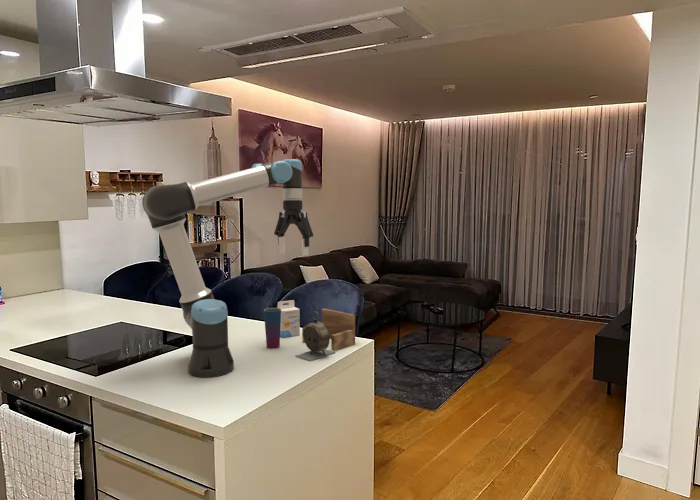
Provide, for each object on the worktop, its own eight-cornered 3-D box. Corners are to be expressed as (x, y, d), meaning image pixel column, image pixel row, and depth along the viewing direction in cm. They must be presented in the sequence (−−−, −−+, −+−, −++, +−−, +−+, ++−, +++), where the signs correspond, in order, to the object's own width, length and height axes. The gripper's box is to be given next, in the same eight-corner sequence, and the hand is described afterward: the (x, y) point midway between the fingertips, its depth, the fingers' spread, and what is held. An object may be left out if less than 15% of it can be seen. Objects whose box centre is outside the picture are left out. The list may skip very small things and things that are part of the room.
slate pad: (310, 361, 176) (310, 360, 176) (295, 356, 182) (295, 355, 181) (335, 353, 186) (335, 352, 186) (320, 348, 191) (320, 347, 191)
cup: (285, 346, 195) (284, 309, 193) (273, 350, 189) (272, 312, 188) (272, 343, 199) (272, 307, 197) (260, 347, 193) (260, 310, 192)
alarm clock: (330, 355, 181) (330, 312, 180) (319, 358, 178) (319, 315, 176) (312, 349, 189) (311, 308, 188) (300, 352, 186) (300, 310, 184)
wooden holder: (334, 351, 188) (333, 320, 187) (302, 342, 200) (302, 313, 199) (355, 344, 197) (355, 314, 196) (324, 335, 209) (323, 308, 208)
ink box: (282, 338, 206) (281, 303, 205) (277, 335, 210) (276, 301, 209) (300, 335, 211) (299, 301, 209) (295, 332, 215) (294, 299, 213)
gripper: (322, 199, 185) (322, 255, 187) (279, 199, 201) (280, 251, 203) (307, 199, 179) (308, 257, 181) (264, 199, 196) (266, 252, 198)
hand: (293, 254), depth 192 cm, fingers open, 13 cm apart
